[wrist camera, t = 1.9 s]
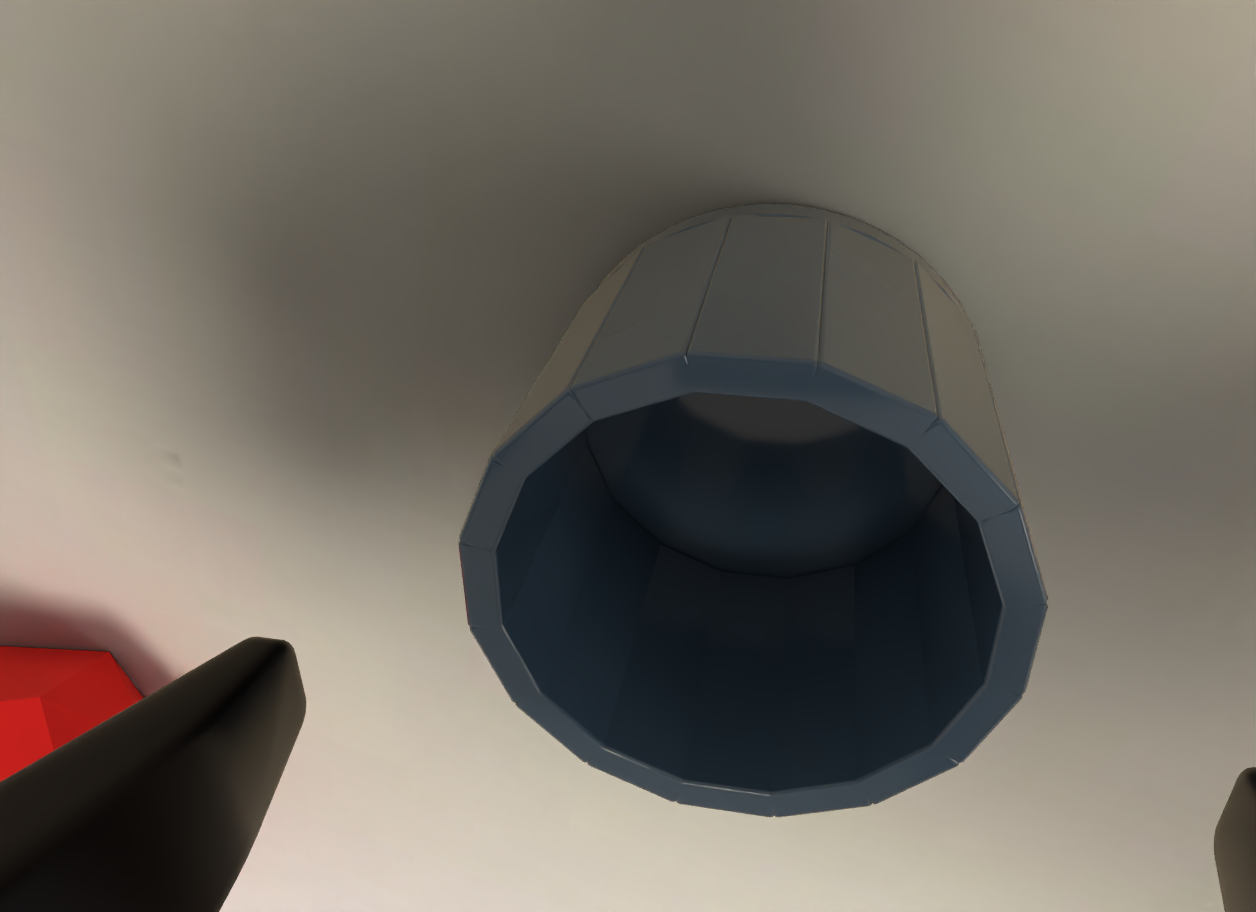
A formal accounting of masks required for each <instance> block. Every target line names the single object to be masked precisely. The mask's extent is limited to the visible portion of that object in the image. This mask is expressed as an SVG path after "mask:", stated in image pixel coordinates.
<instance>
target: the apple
mask: <svg viewBox="0 0 1256 912" xmlns="http://www.w3.org/2000/svg"><path fill="white" fill-rule="evenodd" d="M142 699H143V696H142V695H141V694H140V692H139V691H138V690H137V688H136V687H135V686H134V684H133V683H132V682H131V680H130V679H129V678H128V676H127V675H126V674H125V672H124V671H123V670H122V668H121V667H120V666H119V664H118V663H117V662H116V660H115V659H114V658H113V656H112V655H111V654H110V652H103V651H84V650H66V649H47V648H28V647H10V646H0V782H1V781H2V780H4V779H6V778H7V777H9V776H11V775H13V774H14V773H16V772H18V771H19V770H21V769H23V768H25V767H26V766H28V765H30V764H32V763H33V762H35V761H37V760H38V759H40V758H42V757H44V756H45V755H47V754H49V753H50V752H52V751H54V750H56V749H57V748H59V747H61V746H63V745H64V744H66V743H68V742H69V741H71V740H73V739H75V738H76V737H78V736H80V735H81V734H83V733H85V732H87V731H88V730H90V729H92V728H94V727H95V726H97V725H99V724H100V723H102V722H104V721H106V720H107V719H109V718H111V717H112V716H114V715H116V714H118V713H119V712H121V711H123V710H124V709H126V708H128V707H130V706H131V705H133V704H135V703H137V702H138V701H140V700H142Z"/></svg>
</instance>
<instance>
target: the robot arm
mask: <svg viewBox="0 0 1256 912" xmlns="http://www.w3.org/2000/svg"><path fill="white" fill-rule="evenodd" d="M305 712H306V696H305V692H304V688H303V684H302V679H301V675H300V671H299V667H298V663H297V658H296V654H295V651H294V648H293V647H292V645H291V644H290V643H289V642H287V641H285V640H279V639H271V638H263V637H251V638H248V639H246V640H243V641H242V642H240V643H238V644H236V645H235V646H233V647H231V648H229V649H228V650H226V651H224V652H223V653H221V654H219V655H217V656H216V657H214V658H212V659H211V660H209V661H207V662H205V663H204V664H202V665H200V666H199V667H197V668H195V669H193V670H192V671H190V672H188V673H186V674H185V675H183V676H181V677H180V678H178V679H176V680H174V681H173V682H171V683H169V684H168V685H166V686H164V687H162V688H161V689H159V690H157V691H155V692H154V693H152V694H150V695H149V696H147V697H145V698H143V699H142V700H140V701H138V702H137V703H135V704H133V705H131V706H130V707H128V708H126V709H124V710H123V711H121V712H119V713H118V714H116V715H114V716H112V717H111V718H109V719H107V720H106V721H104V722H102V723H100V724H99V725H97V726H95V727H94V728H92V729H90V730H88V731H87V732H85V733H83V734H81V735H80V736H78V737H76V738H75V739H73V740H71V741H69V742H68V743H66V744H64V745H63V746H61V747H59V748H57V749H56V750H54V751H52V752H50V753H49V754H47V755H45V756H44V757H42V758H40V759H38V760H37V761H35V762H33V763H32V764H30V765H28V766H26V767H25V768H23V769H21V770H19V771H18V772H16V773H14V774H13V775H11V776H9V777H7V778H6V779H4V780H2V781H1V782H0V912H219V911H220V909H221V907H222V905H223V903H224V901H225V900H226V898H227V896H228V894H229V892H230V890H231V888H232V887H233V885H234V883H235V881H236V879H237V877H238V875H239V873H240V871H241V869H242V867H243V865H244V863H245V861H246V859H247V857H248V855H249V853H250V850H251V848H252V846H253V844H254V841H255V839H256V837H257V835H258V832H259V830H260V827H261V825H262V822H263V820H264V817H265V815H266V812H267V810H268V808H269V805H270V803H271V800H272V798H273V795H274V793H275V790H276V788H277V785H278V783H279V781H280V778H281V776H282V773H283V771H284V768H285V766H286V763H287V761H288V758H289V756H290V753H291V751H292V749H293V746H294V744H295V741H296V739H297V736H298V734H299V731H300V729H301V726H302V724H303V721H304V717H305ZM1214 855H1215V861H1216V866H1217V872H1218V877H1219V883H1220V888H1221V893H1222V899H1223V904H1224V910H1225V912H1256V767H1252V768H1247V769H1245V770H1244V771H1243V772H1241V773H1240V775H1239V777H1238V778H1237V780H1236V783H1235V785H1234V787H1233V790H1232V792H1231V794H1230V797H1229V799H1228V801H1227V803H1226V806H1225V808H1224V810H1223V813H1222V815H1221V817H1220V820H1219V822H1218V824H1217V827H1216V830H1215V835H1214Z"/></svg>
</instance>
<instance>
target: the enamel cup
mask: <svg viewBox="0 0 1256 912" xmlns="http://www.w3.org/2000/svg"><path fill="white" fill-rule="evenodd" d="M459 551H460V560H461V568H462V576H463V585H464V593H465V602H466V610H467V619H468V625H469V626H470V631H471V633H472V634H473V636H474V638H475V639H476V641H477V643H478V644H479V646H480V648H481V649H482V651H483V653H484V654H485V656H486V658H487V660H488V661H489V663H490V665H491V666H492V668H493V670H494V671H495V673H496V675H497V676H498V678H499V680H500V681H501V683H502V685H503V686H504V688H505V690H506V692H507V693H508V695H509V697H510V698H511V700H512V701H513V702H514V703H516V706H517V707H518V708H519V709H521V710H522V711H523V712H524V713H525V714H527V715H528V716H529V717H530V718H531V719H533V720H534V721H535V722H536V723H537V724H539V725H540V726H541V727H542V728H543V729H545V730H546V731H547V732H548V733H549V734H551V735H552V736H553V737H554V738H555V739H556V740H558V741H559V742H560V743H561V744H562V745H564V746H565V747H566V748H567V749H568V750H570V751H571V752H572V753H573V754H574V755H576V756H577V757H578V758H579V759H580V760H582V761H583V762H588V765H589V766H591V767H594V768H596V769H598V770H601V771H603V772H605V773H607V774H610V775H612V776H614V777H617V778H619V779H621V780H623V781H626V782H628V783H630V784H633V785H635V786H637V787H640V788H642V789H644V790H646V791H649V792H651V793H653V794H656V795H658V796H660V797H662V798H665V799H667V800H669V801H672V802H675V801H677V803H679V804H684V805H691V806H698V807H704V808H711V809H718V810H724V811H731V812H738V813H745V814H751V815H758V816H765V817H773V816H775V817H785V816H793V815H801V814H809V813H817V812H825V811H833V810H841V809H849V808H857V807H865V806H870V805H871V804H872V803H873V804H877V803H879V802H882V801H884V800H886V799H888V798H890V797H892V796H894V795H897V794H899V793H901V792H903V791H905V790H907V789H909V788H912V787H914V786H916V785H918V784H920V783H922V782H924V781H926V780H929V779H931V778H933V777H935V776H937V775H939V774H941V773H944V772H946V771H948V770H950V769H952V768H954V767H956V766H958V765H959V763H961V762H964V760H965V759H966V758H967V757H968V756H969V755H970V754H971V753H972V752H973V751H974V750H975V748H976V747H977V746H978V745H979V744H980V743H981V742H982V741H983V740H984V739H985V738H986V737H987V735H988V734H989V733H990V732H991V731H992V730H993V729H994V728H995V727H996V726H997V725H998V723H999V722H1000V721H1001V720H1002V719H1003V718H1004V717H1005V716H1006V715H1007V714H1008V713H1009V711H1010V710H1011V709H1012V708H1013V707H1014V706H1015V705H1016V704H1017V703H1018V702H1019V701H1020V700H1021V698H1022V695H1023V694H1024V693H1025V691H1026V688H1027V684H1028V681H1029V677H1030V673H1031V669H1032V665H1033V662H1034V658H1035V654H1036V650H1037V646H1038V642H1039V639H1040V635H1041V631H1042V627H1043V623H1044V620H1045V616H1046V612H1047V608H1048V605H1047V600H1048V597H1047V593H1046V590H1045V586H1044V582H1043V578H1042V575H1041V571H1040V567H1039V563H1038V560H1037V556H1036V552H1035V548H1034V545H1033V541H1032V537H1031V533H1030V530H1029V526H1028V522H1027V518H1026V515H1025V511H1024V507H1023V503H1022V500H1021V496H1020V492H1019V488H1018V485H1017V481H1016V477H1015V473H1014V469H1013V466H1012V462H1011V458H1010V454H1009V451H1008V447H1007V443H1006V439H1005V436H1004V432H1003V428H1002V424H1001V421H1000V417H999V413H998V409H997V406H996V402H995V398H994V395H993V391H992V387H991V384H990V380H989V377H988V373H987V369H986V366H985V362H984V358H983V354H982V350H981V347H980V344H979V340H978V337H977V333H976V331H975V330H974V328H973V325H972V324H971V322H970V320H969V318H968V316H967V314H966V312H965V311H964V309H963V307H962V305H961V303H960V301H959V300H958V299H957V297H956V296H955V295H954V293H953V292H952V291H951V289H950V288H949V287H948V285H947V284H946V283H945V281H944V280H943V279H942V278H941V277H940V276H939V275H938V274H937V273H936V272H935V271H934V270H933V269H932V268H931V267H930V266H929V265H928V264H927V263H926V262H925V261H924V260H923V259H922V258H921V257H920V256H918V255H917V254H916V253H914V252H913V251H912V250H910V249H909V248H908V247H906V246H905V245H904V244H902V243H901V242H899V241H898V240H896V239H895V238H893V237H891V236H889V235H887V234H886V233H884V232H882V231H880V230H878V229H876V228H875V227H873V226H871V225H868V224H866V223H863V222H861V221H858V220H855V219H853V218H850V217H848V216H845V215H843V214H838V213H834V212H830V211H826V210H822V209H818V208H814V207H806V206H797V205H788V204H751V205H744V206H737V207H731V208H724V209H719V210H716V211H712V212H709V213H705V214H702V215H698V216H695V217H692V218H690V219H687V220H685V221H683V222H680V223H678V224H676V225H673V226H671V227H669V228H667V229H665V230H663V231H662V232H660V233H658V234H657V235H655V236H653V237H652V238H650V239H648V240H647V241H645V242H643V243H642V244H641V245H639V246H638V247H637V248H636V249H635V250H633V251H632V252H631V253H630V254H628V255H627V256H626V257H625V258H623V259H622V260H621V261H620V262H619V263H618V264H617V265H616V266H615V268H614V269H613V270H612V271H611V272H610V273H609V274H608V275H607V276H606V277H605V278H604V279H603V281H602V282H601V284H600V285H599V287H598V288H597V289H596V291H595V292H594V293H593V294H592V295H590V296H589V297H588V298H587V299H586V300H585V302H584V304H583V305H582V306H581V308H580V309H579V311H578V313H577V314H576V316H575V318H574V319H573V321H572V323H571V324H570V326H569V328H568V329H567V331H566V332H565V334H564V336H563V337H562V339H561V341H560V342H559V344H558V346H557V347H556V349H555V351H554V352H553V354H552V356H551V357H550V359H549V360H548V362H547V364H546V365H545V367H544V369H543V370H542V372H541V374H540V375H539V377H538V379H537V380H536V382H535V384H534V385H533V387H532V388H531V390H530V392H529V393H528V395H527V397H526V398H525V400H524V402H523V403H522V405H521V407H520V408H519V410H518V412H517V413H516V415H515V416H514V418H513V420H512V421H511V423H510V425H509V426H508V428H507V430H506V431H505V433H504V435H503V436H502V438H501V440H500V441H499V443H498V444H497V446H496V448H495V449H494V451H493V453H492V454H491V456H490V458H489V460H488V463H487V465H486V468H485V470H484V473H483V476H482V478H481V481H480V483H479V486H478V489H477V491H476V494H475V496H474V499H473V502H472V504H471V507H470V509H469V512H468V515H467V517H466V520H465V522H464V525H463V528H462V530H461V533H460V541H459Z"/></svg>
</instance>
